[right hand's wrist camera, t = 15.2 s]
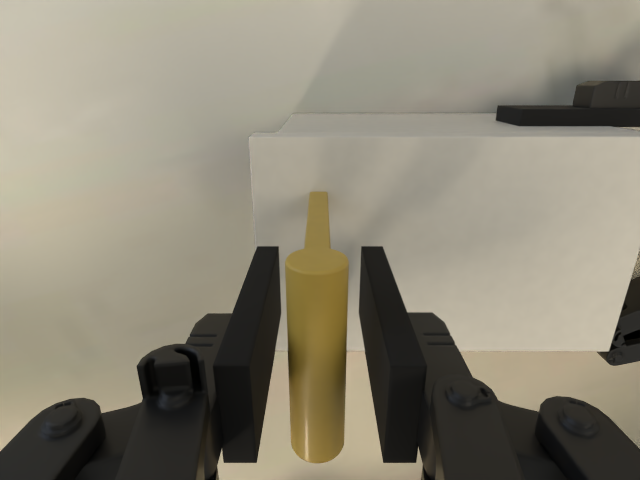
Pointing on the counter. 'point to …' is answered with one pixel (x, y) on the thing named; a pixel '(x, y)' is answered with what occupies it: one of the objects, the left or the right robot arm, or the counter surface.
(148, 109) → the counter surface
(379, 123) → the chest
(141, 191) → the counter surface
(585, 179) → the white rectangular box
